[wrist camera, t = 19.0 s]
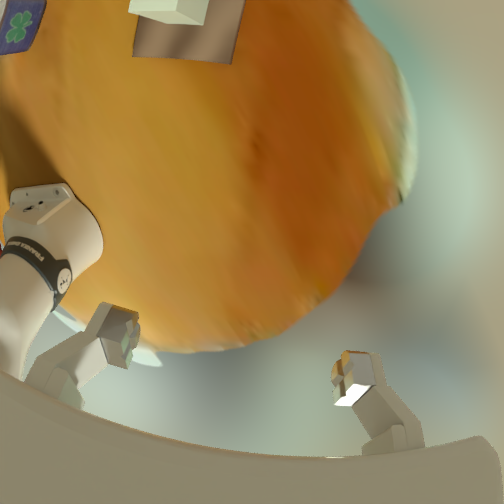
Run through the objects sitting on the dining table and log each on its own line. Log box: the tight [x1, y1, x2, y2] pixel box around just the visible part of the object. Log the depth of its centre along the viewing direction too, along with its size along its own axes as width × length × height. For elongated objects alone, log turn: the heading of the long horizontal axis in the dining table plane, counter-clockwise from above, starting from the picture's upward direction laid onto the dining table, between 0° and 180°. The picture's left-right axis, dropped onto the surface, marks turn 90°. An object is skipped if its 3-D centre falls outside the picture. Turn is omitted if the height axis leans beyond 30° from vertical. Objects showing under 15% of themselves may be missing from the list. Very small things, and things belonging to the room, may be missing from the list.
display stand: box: [132, 0, 246, 64], centre depth 23 cm, size 12×11×6 cm
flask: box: [0, 0, 47, 55], centre depth 19 cm, size 9×3×11 cm, turn 151°
